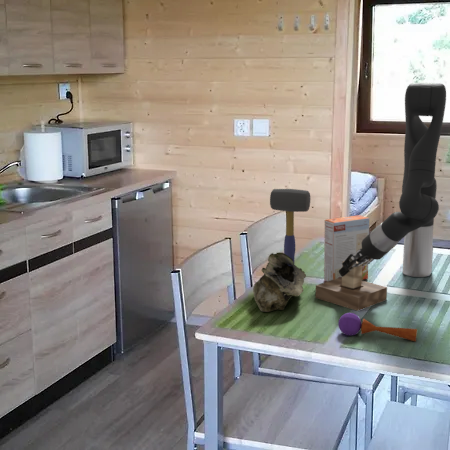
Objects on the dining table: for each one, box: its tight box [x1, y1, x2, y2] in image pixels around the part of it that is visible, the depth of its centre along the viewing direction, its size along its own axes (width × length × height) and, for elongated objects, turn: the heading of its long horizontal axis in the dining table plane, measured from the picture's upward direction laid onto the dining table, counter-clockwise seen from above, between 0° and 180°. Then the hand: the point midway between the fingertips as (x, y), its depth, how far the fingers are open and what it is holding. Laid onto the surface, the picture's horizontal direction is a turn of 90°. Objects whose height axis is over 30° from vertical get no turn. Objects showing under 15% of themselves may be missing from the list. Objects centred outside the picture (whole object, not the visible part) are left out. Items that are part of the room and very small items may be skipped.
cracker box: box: [323, 214, 370, 282], centre depth 228 cm, size 14×6×21 cm, turn 115°
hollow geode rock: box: [252, 252, 307, 313], centre depth 212 cm, size 28×13×15 cm
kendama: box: [337, 312, 418, 342], centre depth 182 cm, size 6×6×20 cm
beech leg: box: [341, 261, 363, 290], centre depth 211 cm, size 4×4×12 cm
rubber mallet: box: [269, 188, 311, 266], centre depth 231 cm, size 12×8×30 cm, turn 70°
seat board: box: [315, 277, 388, 312], centre depth 212 cm, size 14×16×4 cm
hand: (346, 271), depth 212 cm, fingers open, 5 cm apart
